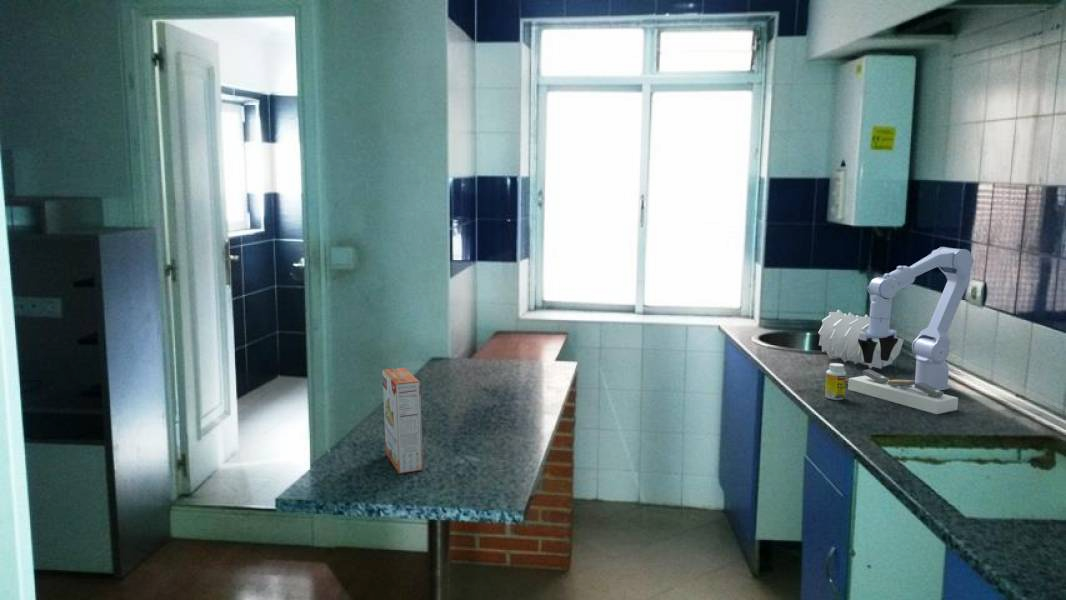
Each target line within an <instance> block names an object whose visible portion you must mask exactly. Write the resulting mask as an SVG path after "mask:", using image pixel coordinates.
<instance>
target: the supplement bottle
mask: <svg viewBox="0 0 1066 600" xmlns="http://www.w3.org/2000/svg"><path fill="white" fill-rule="evenodd" d="M828 368H829V369H827V370H826V372H825V389H824V390H825V392H824V397H825V398H826V399H829V400H832V401H841V400H844V399H845V397H846V385H847V383H846V379H847V372H846V371H845V364H843V363H835V362H832V363H829V367H828Z"/></svg>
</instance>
